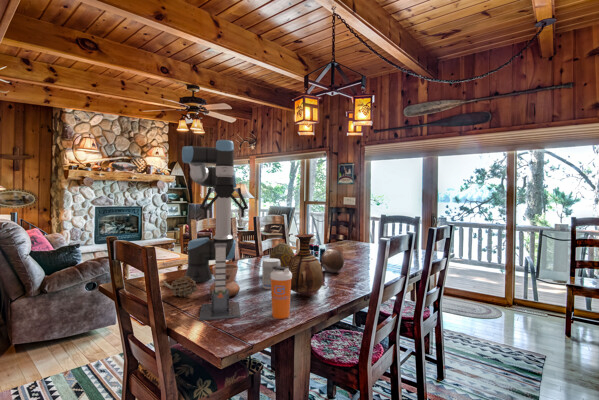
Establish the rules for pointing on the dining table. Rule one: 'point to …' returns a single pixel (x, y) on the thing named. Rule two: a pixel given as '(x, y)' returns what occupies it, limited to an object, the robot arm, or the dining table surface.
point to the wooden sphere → (332, 260)
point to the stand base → (220, 307)
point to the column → (220, 267)
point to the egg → (282, 254)
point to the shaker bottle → (280, 291)
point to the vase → (305, 269)
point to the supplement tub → (268, 271)
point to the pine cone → (182, 286)
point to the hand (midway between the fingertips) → (224, 225)
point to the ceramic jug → (228, 279)
